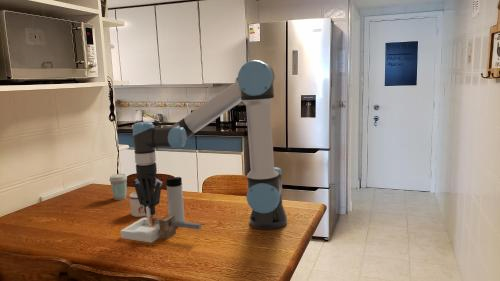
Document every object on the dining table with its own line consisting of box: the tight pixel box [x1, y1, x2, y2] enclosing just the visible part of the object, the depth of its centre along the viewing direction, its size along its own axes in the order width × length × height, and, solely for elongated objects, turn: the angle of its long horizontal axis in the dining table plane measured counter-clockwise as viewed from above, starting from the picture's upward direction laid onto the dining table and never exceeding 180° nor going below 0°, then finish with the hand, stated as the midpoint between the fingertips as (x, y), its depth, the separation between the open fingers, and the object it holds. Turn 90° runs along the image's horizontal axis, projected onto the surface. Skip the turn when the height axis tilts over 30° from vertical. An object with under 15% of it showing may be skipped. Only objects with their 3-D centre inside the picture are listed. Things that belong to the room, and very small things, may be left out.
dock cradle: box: [120, 217, 160, 243], centre depth 152 cm, size 14×14×3 cm
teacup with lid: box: [128, 190, 147, 218], centre depth 174 cm, size 12×9×12 cm
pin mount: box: [159, 214, 176, 240], centre depth 148 cm, size 3×6×7 cm, turn 158°
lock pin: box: [149, 214, 202, 230], centre depth 146 cm, size 21×4×4 cm, turn 68°
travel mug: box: [165, 176, 186, 222], centre depth 159 cm, size 6×7×20 cm
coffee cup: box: [109, 173, 128, 201], centre depth 196 cm, size 9×8×12 cm
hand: (150, 222), depth 150 cm, fingers closed
